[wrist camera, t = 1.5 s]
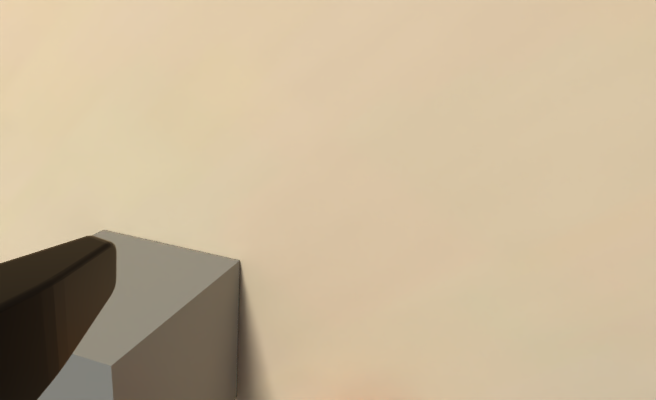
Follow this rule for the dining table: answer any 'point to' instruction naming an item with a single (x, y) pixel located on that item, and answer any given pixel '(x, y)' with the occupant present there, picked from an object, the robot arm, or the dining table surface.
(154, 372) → the matte grey cube
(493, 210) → the dining table surface
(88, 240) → the robot arm
